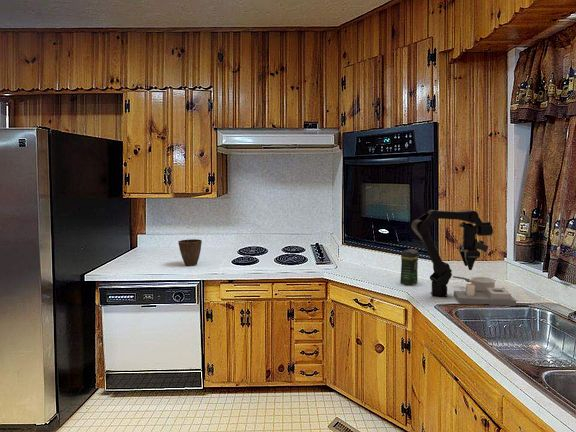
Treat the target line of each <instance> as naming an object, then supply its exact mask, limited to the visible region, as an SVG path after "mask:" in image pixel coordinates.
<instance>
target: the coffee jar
mask: <svg viewBox="0 0 576 432" xmlns="http://www.w3.org/2000/svg"><path fill="white" fill-rule="evenodd" d="M400 256H401V257H400V259H401V261H400V262H401V265H400V266H401V267H400V268H401V269H400V279H399V282H400V284H402V285H404V286H414V285H416V284H418V282H419V280H418V279H419V277H418V276H419V275H418V268H419V267H418V264H419V263H418V262H419V251H418V250H417V249H413V248H408V249H406V250H402V251H401V254H400Z"/></svg>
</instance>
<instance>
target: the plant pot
mask: <svg viewBox="0 0 576 432" xmlns="http://www.w3.org/2000/svg"><path fill="white" fill-rule="evenodd" d="M202 241H203V240H202V239H194V238H191V239H182V240H178V241H177V243H178V247H179V252H180V254H181V258H182V261H183V263H184V266H186V267H194V266H197V264H198V261H199V259H200V255H201V252H202V251H201V250H202V249H201V248H202Z"/></svg>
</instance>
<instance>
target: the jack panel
mask: <svg viewBox="0 0 576 432" xmlns="http://www.w3.org/2000/svg"><path fill="white" fill-rule="evenodd" d="M453 297H454V298H455V299H456V302H457V303H458V304H466V305H483V304H489V305H490V306H503V305H509V306H508V307H512V306H513V307H516V306H517V299H515V298H514V297H513V296H512V293H510V292H509V291H508V290H507V289H505V288H503V287H495V288H486V292H477V291H474V296H466V290H453ZM489 305H488V306H489Z"/></svg>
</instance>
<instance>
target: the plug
mask: <svg viewBox="0 0 576 432" xmlns="http://www.w3.org/2000/svg"><path fill="white" fill-rule="evenodd" d="M465 291H466V296H474V292H475V286H474V285H473V284H471V283H467V284H465Z"/></svg>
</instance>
